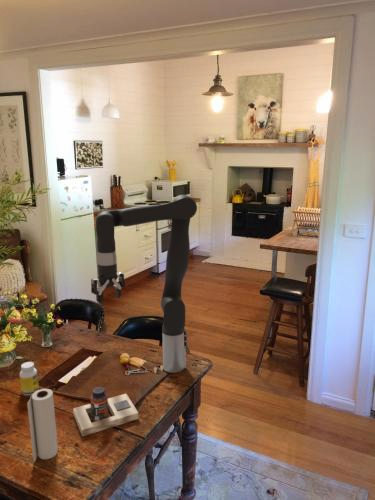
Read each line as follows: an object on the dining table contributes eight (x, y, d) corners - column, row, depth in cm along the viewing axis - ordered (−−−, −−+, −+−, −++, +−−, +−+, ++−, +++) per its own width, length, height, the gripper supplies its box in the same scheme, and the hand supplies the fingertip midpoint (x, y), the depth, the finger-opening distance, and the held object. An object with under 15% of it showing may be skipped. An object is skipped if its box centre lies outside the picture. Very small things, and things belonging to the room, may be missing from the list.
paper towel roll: (57, 444, 134) (52, 386, 128) (58, 457, 128) (52, 397, 123) (34, 449, 131) (27, 390, 126) (33, 463, 126) (27, 402, 120)
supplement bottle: (100, 425, 142) (98, 397, 140) (87, 419, 146) (86, 391, 143) (112, 416, 147) (110, 388, 145) (99, 410, 150) (98, 383, 148)
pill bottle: (33, 397, 159) (30, 370, 156) (18, 395, 160) (15, 368, 157) (42, 387, 165) (39, 361, 162) (27, 385, 166) (24, 359, 163)
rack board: (126, 399, 157) (126, 392, 157) (138, 418, 146) (138, 411, 145) (73, 414, 148) (73, 407, 148) (82, 436, 137) (81, 429, 136)
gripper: (96, 267, 156) (98, 307, 160) (127, 260, 165) (128, 298, 169) (86, 263, 161) (88, 302, 165) (117, 257, 170) (118, 293, 174)
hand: (109, 300), depth 167 cm, fingers open, 8 cm apart
